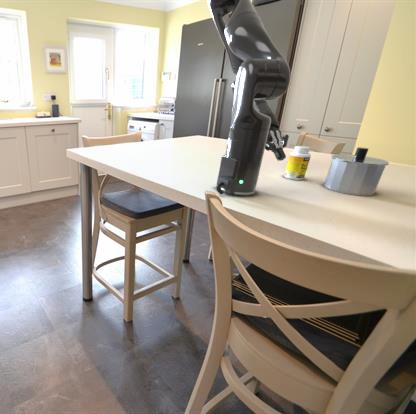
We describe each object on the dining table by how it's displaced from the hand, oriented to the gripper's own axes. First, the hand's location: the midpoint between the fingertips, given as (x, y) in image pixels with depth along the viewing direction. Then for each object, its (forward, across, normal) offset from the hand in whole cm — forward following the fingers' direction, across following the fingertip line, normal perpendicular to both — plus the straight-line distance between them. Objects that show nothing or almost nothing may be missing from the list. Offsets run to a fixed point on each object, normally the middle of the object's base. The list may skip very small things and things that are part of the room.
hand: (282, 159), depth 97 cm
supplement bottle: (+8, 0, +1) cm, 8 cm away
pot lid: (+11, -6, +16) cm, 20 cm away
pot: (+17, -6, +10) cm, 21 cm away
